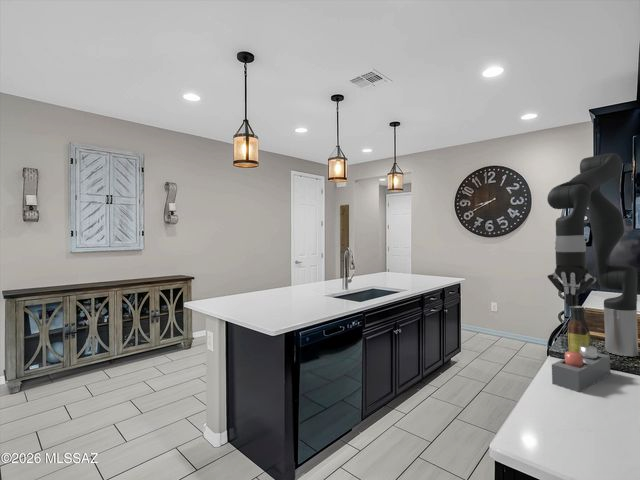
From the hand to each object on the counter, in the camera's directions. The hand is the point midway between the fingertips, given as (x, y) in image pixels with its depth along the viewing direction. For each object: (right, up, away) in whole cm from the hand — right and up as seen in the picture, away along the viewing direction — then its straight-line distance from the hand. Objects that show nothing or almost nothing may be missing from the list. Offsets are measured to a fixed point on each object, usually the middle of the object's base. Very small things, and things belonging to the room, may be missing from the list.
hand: (572, 306), depth 103 cm
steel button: (+9, -19, +5) cm, 22 cm away
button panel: (+5, -24, +3) cm, 24 cm away
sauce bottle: (+15, -23, +16) cm, 32 cm away
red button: (+1, -20, 0) cm, 20 cm away
